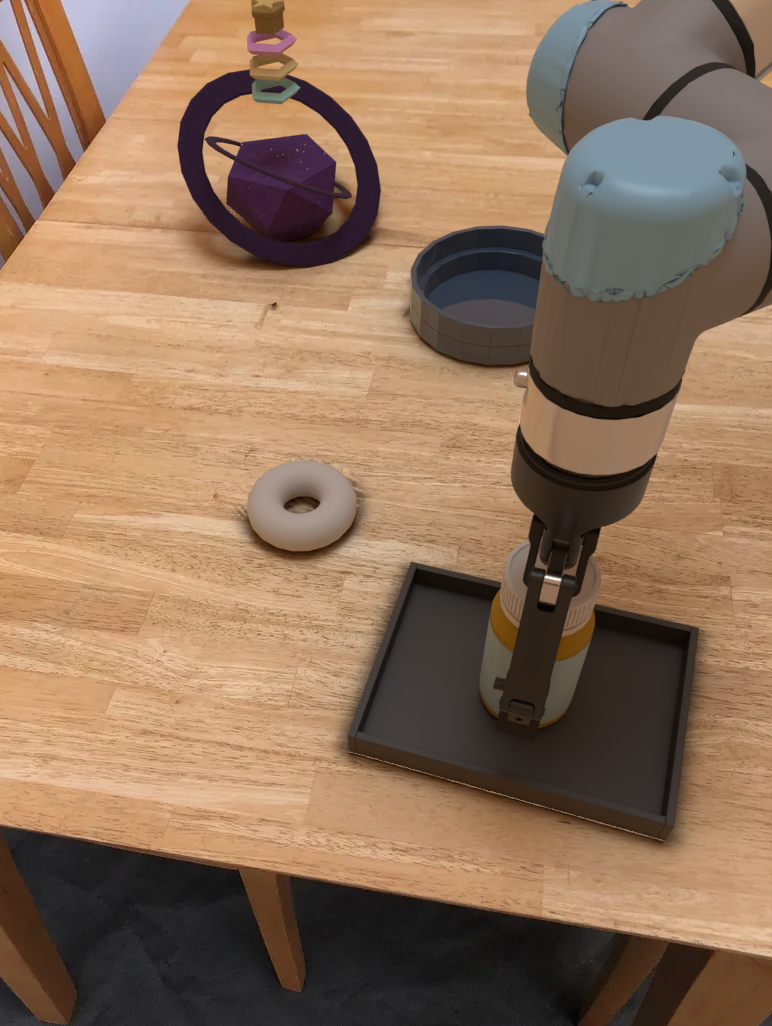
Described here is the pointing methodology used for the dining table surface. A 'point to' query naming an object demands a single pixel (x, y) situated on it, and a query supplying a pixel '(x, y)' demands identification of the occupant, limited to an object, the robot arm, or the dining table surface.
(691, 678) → the tray
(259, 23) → the ringed planet model
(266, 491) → the donut
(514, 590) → the bottle
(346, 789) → the dining table surface
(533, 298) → the bowl
